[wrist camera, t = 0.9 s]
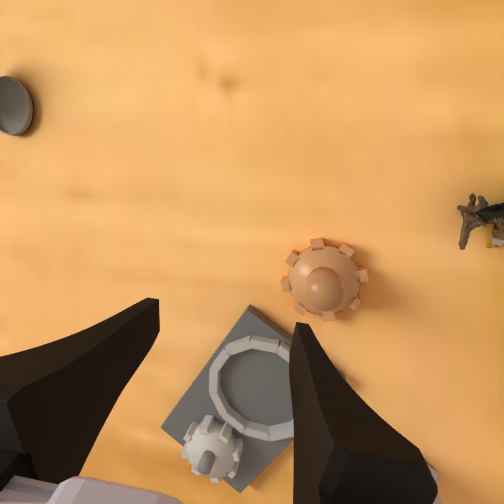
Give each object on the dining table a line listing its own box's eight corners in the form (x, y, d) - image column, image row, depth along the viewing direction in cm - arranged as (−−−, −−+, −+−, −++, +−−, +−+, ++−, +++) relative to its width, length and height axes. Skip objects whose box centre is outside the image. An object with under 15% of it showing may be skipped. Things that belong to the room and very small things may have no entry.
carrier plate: (344, 375, 28) (351, 409, 23) (243, 481, 34) (231, 526, 29) (249, 304, 29) (237, 323, 24) (166, 418, 35) (143, 451, 30)
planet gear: (383, 269, 25) (401, 285, 20) (330, 330, 28) (335, 358, 22) (313, 222, 26) (314, 225, 21) (267, 284, 28) (257, 301, 23)
